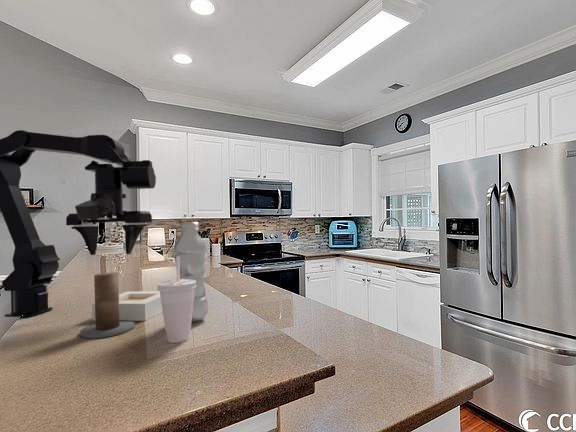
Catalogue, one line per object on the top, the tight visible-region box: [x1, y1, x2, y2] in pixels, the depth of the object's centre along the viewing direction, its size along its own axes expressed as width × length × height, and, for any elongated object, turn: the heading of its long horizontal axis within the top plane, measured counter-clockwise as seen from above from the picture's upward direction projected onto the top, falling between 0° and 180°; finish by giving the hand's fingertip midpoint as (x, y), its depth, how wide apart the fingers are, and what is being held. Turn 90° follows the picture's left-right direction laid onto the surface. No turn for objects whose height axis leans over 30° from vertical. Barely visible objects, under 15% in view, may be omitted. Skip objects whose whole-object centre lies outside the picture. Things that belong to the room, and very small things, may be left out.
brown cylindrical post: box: [93, 272, 120, 331], centre depth 62 cm, size 4×4×10 cm
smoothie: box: [157, 257, 196, 344], centre depth 56 cm, size 6×6×14 cm
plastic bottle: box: [173, 221, 209, 323], centre depth 67 cm, size 6×7×20 cm
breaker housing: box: [91, 290, 163, 322], centre depth 74 cm, size 12×12×4 cm
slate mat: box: [79, 320, 136, 340], centre depth 62 cm, size 9×9×1 cm
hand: (110, 254), depth 79 cm, fingers open, 9 cm apart
